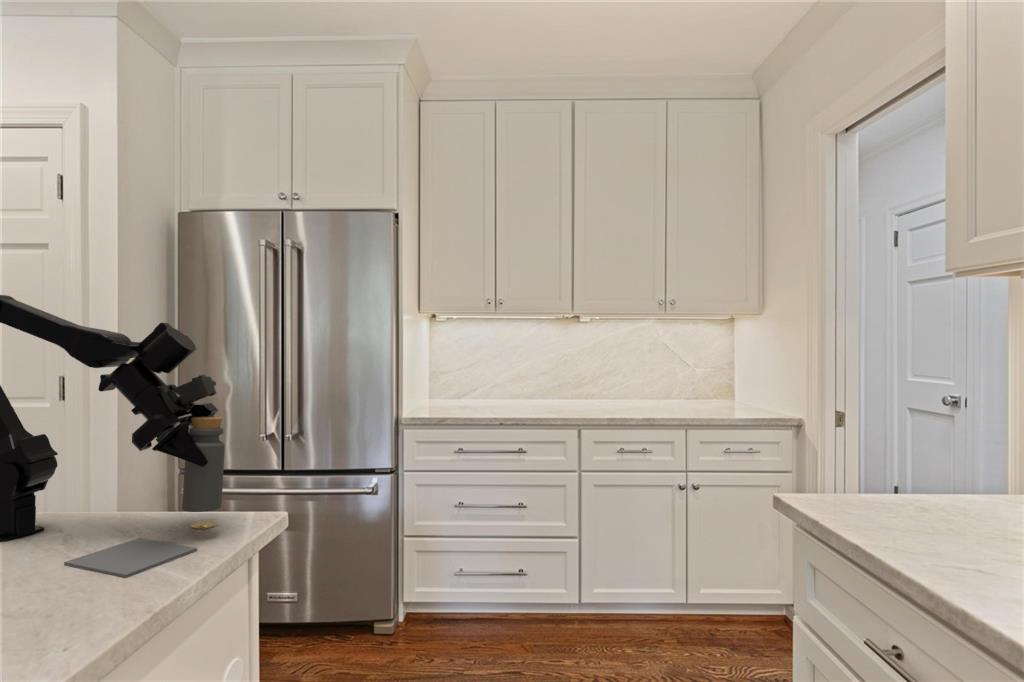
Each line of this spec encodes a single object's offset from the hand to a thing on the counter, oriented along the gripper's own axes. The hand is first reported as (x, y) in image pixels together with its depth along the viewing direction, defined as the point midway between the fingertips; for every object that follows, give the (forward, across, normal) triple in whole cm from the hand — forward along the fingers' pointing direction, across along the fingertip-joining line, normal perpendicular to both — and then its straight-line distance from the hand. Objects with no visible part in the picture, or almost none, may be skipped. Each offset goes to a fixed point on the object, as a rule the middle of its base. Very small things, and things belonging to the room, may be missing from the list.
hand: (213, 460), depth 103 cm
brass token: (+6, +5, +11) cm, 14 cm away
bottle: (+5, -1, +7) cm, 8 cm away
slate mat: (+4, -11, +14) cm, 18 cm away
